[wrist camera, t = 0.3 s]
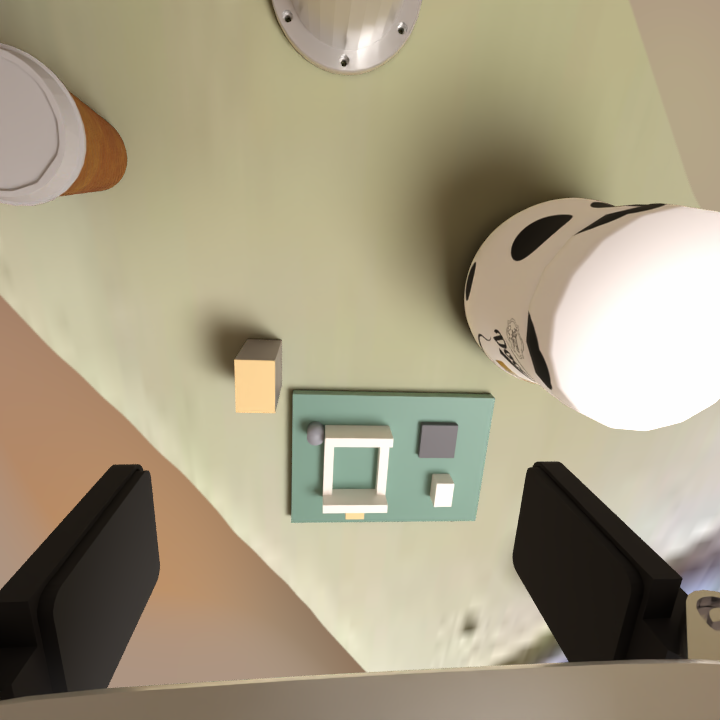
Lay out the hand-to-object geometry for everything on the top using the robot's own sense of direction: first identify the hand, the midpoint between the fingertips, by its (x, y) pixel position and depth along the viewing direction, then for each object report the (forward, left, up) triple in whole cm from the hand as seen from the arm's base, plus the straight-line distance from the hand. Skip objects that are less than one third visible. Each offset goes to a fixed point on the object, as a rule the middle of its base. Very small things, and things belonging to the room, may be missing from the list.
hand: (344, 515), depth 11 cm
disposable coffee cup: (-12, -21, -35) cm, 42 cm away
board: (+18, +8, -35) cm, 40 cm away
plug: (+7, -6, -35) cm, 36 cm away
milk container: (-2, +22, -35) cm, 41 cm away
